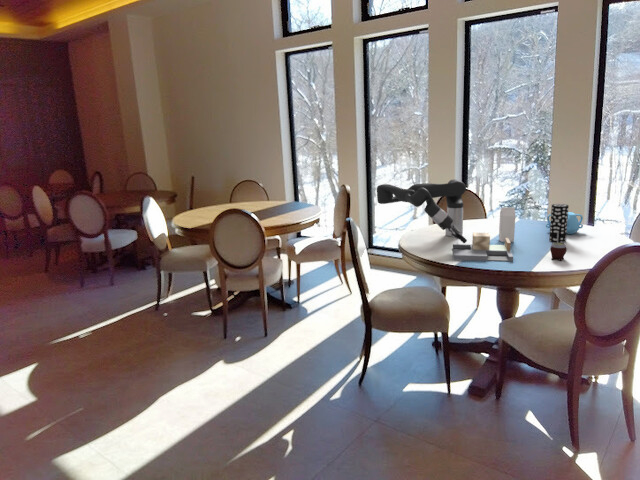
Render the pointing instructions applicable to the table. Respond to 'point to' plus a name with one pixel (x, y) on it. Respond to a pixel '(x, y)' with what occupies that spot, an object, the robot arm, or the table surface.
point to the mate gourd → (558, 250)
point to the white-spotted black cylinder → (558, 222)
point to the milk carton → (507, 224)
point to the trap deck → (483, 252)
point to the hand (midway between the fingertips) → (465, 242)
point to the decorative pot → (570, 222)
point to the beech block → (481, 241)
